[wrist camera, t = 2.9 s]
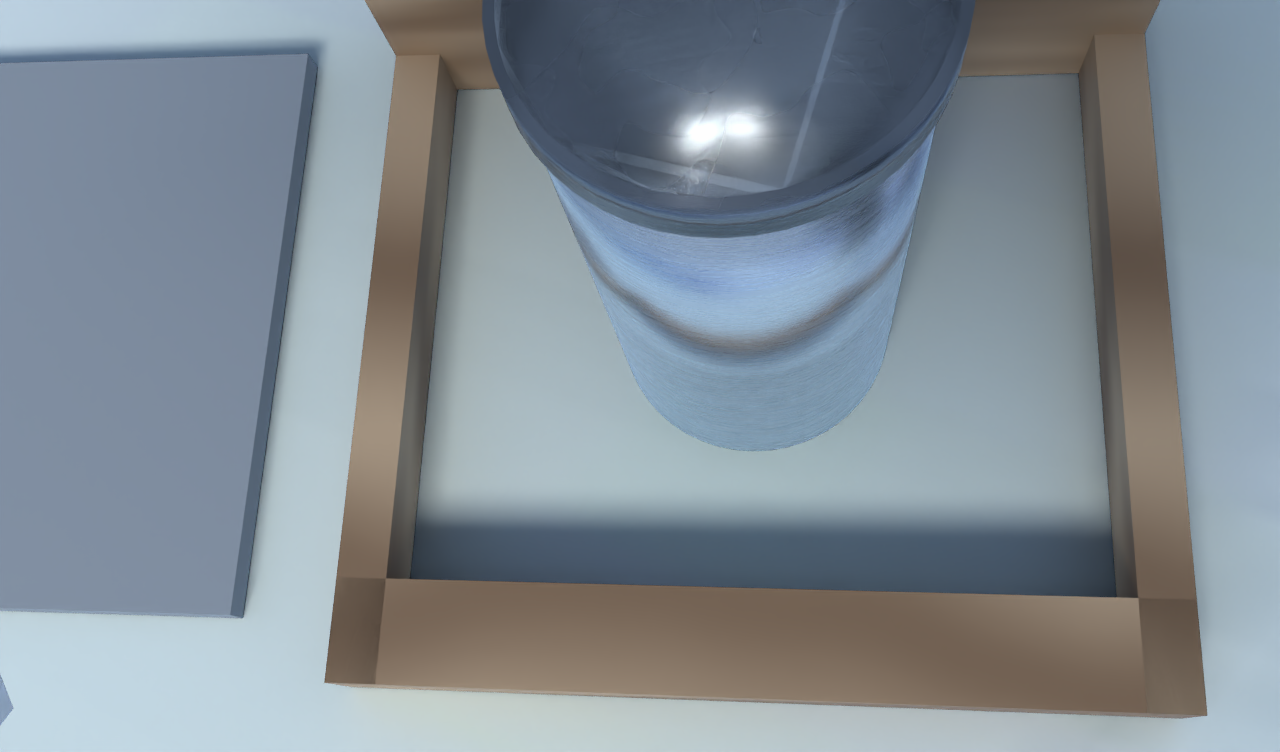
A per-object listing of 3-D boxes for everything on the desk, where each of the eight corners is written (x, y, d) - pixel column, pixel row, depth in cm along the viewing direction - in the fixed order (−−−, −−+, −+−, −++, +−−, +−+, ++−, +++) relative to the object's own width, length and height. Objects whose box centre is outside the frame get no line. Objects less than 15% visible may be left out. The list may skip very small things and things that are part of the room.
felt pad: (243, 618, 25) (229, 615, 25) (-152, 605, 27) (-173, 602, 26) (317, 67, 29) (307, 53, 29) (-30, 77, 30) (-46, 64, 30)
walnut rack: (1181, 718, 23) (1414, 693, 14) (351, 686, 25) (117, 649, 16) (1119, -8, 27) (1267, -357, 19) (423, 16, 29) (271, -289, 21)
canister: (898, 459, 25) (987, 206, 13) (610, 456, 25) (461, 213, 14) (892, 194, 26) (966, -230, 15) (623, 198, 27) (500, -204, 16)
